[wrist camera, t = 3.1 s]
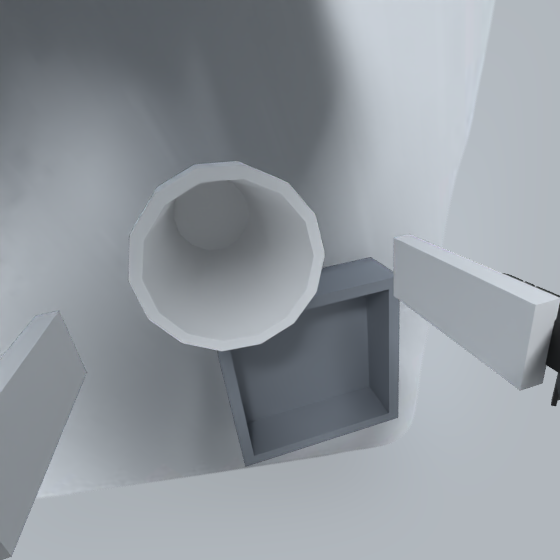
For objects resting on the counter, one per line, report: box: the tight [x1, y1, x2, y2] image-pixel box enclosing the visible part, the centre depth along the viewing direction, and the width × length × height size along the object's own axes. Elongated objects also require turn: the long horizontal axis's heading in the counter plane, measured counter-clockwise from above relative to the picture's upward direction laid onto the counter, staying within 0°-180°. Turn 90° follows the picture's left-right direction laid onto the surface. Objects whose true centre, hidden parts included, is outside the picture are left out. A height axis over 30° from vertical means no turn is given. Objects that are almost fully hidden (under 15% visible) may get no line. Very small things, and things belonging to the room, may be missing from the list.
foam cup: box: [128, 161, 325, 351], centre depth 23 cm, size 10×9×13 cm
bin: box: [217, 257, 399, 467], centre depth 34 cm, size 16×16×5 cm
